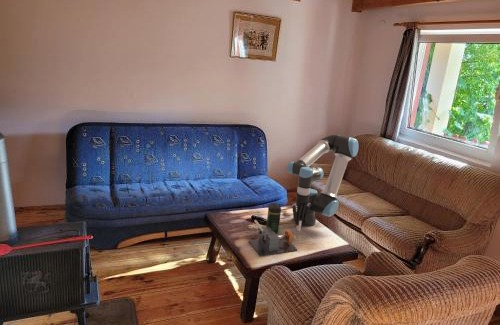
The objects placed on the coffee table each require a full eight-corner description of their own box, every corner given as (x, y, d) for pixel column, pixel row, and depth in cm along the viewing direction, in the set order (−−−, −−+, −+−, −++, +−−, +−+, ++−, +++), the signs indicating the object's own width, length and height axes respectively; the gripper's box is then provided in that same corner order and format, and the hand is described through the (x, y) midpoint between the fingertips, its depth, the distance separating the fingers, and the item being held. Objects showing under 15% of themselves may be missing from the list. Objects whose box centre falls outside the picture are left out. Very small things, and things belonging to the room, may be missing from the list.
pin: (286, 238, 217) (288, 229, 215) (291, 243, 211) (292, 234, 210) (264, 241, 211) (265, 232, 209) (269, 246, 206) (270, 237, 204)
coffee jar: (279, 235, 224) (282, 208, 219) (266, 234, 223) (269, 207, 218) (277, 228, 233) (280, 202, 228) (265, 227, 233) (267, 201, 227)
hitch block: (283, 237, 222) (285, 220, 219) (297, 250, 208) (299, 233, 204) (248, 241, 213) (250, 224, 210) (259, 256, 198) (261, 238, 195)
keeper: (260, 231, 208) (262, 230, 208) (265, 236, 202) (267, 235, 203) (253, 220, 203) (255, 218, 204) (257, 225, 198) (259, 223, 198)
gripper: (309, 190, 213) (304, 226, 220) (290, 191, 208) (285, 228, 215) (316, 194, 207) (310, 231, 213) (296, 196, 202) (291, 233, 208)
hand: (298, 229), depth 214 cm, fingers closed
